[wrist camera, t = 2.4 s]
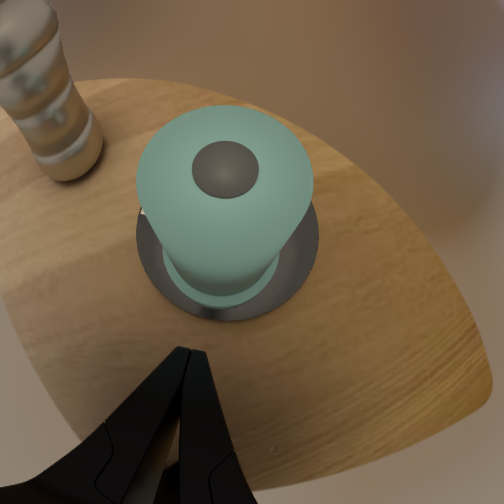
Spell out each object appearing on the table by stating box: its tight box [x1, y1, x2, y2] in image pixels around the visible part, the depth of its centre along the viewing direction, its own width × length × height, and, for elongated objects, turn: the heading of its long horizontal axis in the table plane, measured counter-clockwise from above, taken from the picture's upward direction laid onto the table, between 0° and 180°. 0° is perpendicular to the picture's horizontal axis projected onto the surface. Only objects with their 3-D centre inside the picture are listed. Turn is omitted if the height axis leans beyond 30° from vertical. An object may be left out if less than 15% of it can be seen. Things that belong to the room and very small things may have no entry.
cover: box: [136, 105, 313, 309], centre depth 15 cm, size 7×7×11 cm
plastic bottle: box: [0, 0, 103, 181], centre depth 14 cm, size 6×7×20 cm
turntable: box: [136, 201, 319, 321], centre depth 21 cm, size 13×13×1 cm
